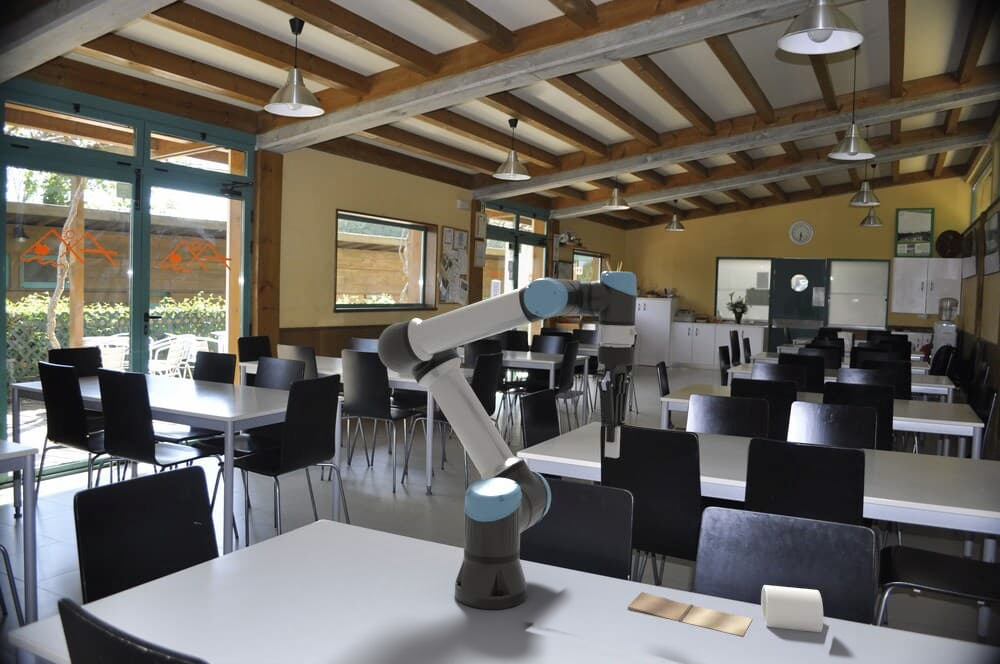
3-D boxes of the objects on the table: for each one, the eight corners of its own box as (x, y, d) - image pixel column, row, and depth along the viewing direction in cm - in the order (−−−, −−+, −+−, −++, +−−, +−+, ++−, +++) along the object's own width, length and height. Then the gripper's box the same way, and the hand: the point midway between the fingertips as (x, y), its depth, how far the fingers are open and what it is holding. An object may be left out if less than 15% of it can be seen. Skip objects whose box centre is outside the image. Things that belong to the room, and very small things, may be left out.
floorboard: (678, 627, 143) (678, 619, 143) (690, 611, 151) (690, 604, 151) (742, 643, 137) (742, 635, 137) (751, 625, 145) (752, 618, 145)
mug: (822, 642, 139) (824, 599, 138) (766, 635, 141) (767, 594, 140) (809, 615, 151) (811, 576, 150) (757, 610, 153) (759, 571, 152)
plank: (627, 612, 148) (627, 606, 148) (641, 597, 156) (641, 591, 156) (677, 626, 143) (677, 620, 143) (689, 610, 151) (689, 605, 151)
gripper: (621, 348, 149) (617, 465, 151) (643, 344, 161) (639, 453, 162) (587, 345, 153) (583, 459, 154) (610, 342, 164) (606, 449, 166)
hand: (611, 456), depth 158 cm, fingers closed
